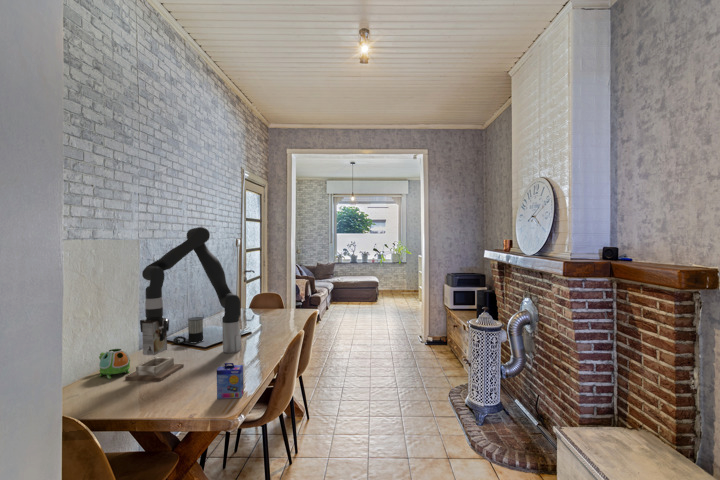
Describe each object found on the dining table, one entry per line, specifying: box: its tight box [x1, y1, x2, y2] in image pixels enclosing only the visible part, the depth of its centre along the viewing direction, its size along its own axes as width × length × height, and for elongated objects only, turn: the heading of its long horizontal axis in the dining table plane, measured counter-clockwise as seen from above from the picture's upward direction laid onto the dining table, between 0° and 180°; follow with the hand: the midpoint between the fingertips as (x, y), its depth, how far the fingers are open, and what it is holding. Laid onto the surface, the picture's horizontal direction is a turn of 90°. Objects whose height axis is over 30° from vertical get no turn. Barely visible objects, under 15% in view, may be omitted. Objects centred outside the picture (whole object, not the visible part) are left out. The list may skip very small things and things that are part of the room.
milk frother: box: [173, 316, 204, 345], centre depth 235 cm, size 14×16×15 cm
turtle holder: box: [98, 347, 131, 380], centre depth 183 cm, size 12×18×12 cm
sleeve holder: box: [124, 357, 185, 382], centre depth 183 cm, size 18×18×6 cm
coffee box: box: [141, 317, 168, 356], centre depth 182 cm, size 9×6×16 cm
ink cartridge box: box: [216, 362, 245, 400], centre depth 155 cm, size 10×6×14 cm, turn 95°
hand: (155, 340), depth 183 cm, fingers closed on coffee box, 6 cm apart
